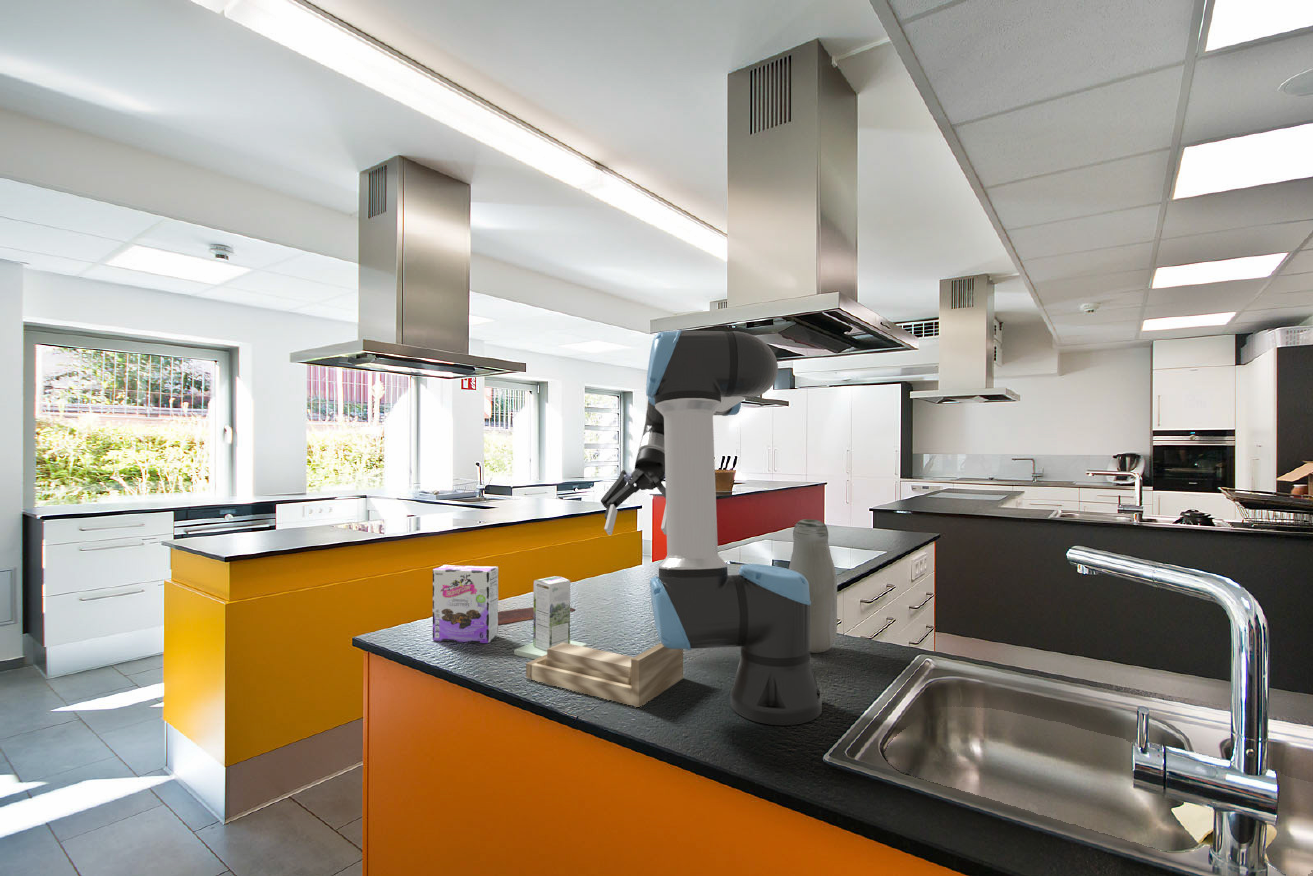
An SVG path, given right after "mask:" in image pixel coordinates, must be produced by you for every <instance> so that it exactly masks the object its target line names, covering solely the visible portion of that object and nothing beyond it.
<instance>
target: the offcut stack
mask: <svg viewBox="0 0 1313 876" xmlns="http://www.w3.org/2000/svg"><path fill="white" fill-rule="evenodd" d="M634 657H635V656H634ZM634 657H633V656H630V655H625V654H620V653H615V652H610V651H606V650H600V649H596V648H591V647H588V648H587V647H582V646H578V645H573V644H568V643H563V642H562V643H560V644H558V645H555V646H553V647H551V648H548V649H547V659H546V666H550V667H554V668H558V669H562V670H567V671H571V672H575V673H579V674H584V675H588V676H592V677H596V678H600V679H605V680H609V681H613V682H617V683H622V684H626V685H630V686H631V659H632V658H634Z"/></svg>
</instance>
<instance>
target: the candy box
mask: <svg viewBox="0 0 1313 876" xmlns="http://www.w3.org/2000/svg"><path fill="white" fill-rule="evenodd" d="M498 612H499V566H495V565H494V566H491V565H490V566H488V565H486V566H483V565H482V566H481V565H480V566H479V565H476V566H475V565H453V564H452V565H450V564H443V565H440V566H438V567H436V568H433V569H432V641H436V642H454V643H455V642H456V643H458V642H459V643H475V644H476V643H478V644H489V643H491V642H492V641H493V640H496V638H498V637H499V625H498Z"/></svg>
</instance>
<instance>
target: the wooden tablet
mask: <svg viewBox="0 0 1313 876" xmlns="http://www.w3.org/2000/svg"><path fill="white" fill-rule="evenodd" d="M574 611H576V609H575V608H574V607H573V608H572V607H570V613H571V612H574ZM533 618H534V606H532V607H527V608H526V607H525V608H523V607H522V608H515V609H507V610H501V611H498V626H500V625H506V624H513V623H518V622H524V621H530V620H534V619H533Z"/></svg>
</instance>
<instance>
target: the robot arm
mask: <svg viewBox="0 0 1313 876" xmlns="http://www.w3.org/2000/svg"><path fill="white" fill-rule="evenodd" d="M778 364H779V363H778V361H777V357H776V355H775V354H774V351H773V350H772V349H771V348H770V346H769V345H768V344H767V343H766V342H765V341H763V340H762V339H760V337H757V336H755V335H753V334H750V333H748V332H742V331H735V330H732V331H717V330H715V331H712V330H682V329H678V330H670V331H669V330H668V331H663V330H662V331H660V332H658V333H657V334H656V335H655V336H654V337H653V339H652V343H651V349H650V353H649V360H648V367H647V373H646V374H647V375H646V389H645V390H646V391H645V393H646V396H647V406H646V414H645V422H644V427H643V431H642V435H641V440H640V443H639V447H638V452H637V456H636V459H635V465H634V470H633V471H632V472H627V471H626V470H625V469H622V470H621V471H620V473H619V476H618V478H617V479H616V480H615V482H613V484H612V485H611V487H610V488H609V489H608V490H607V491H606V493H605V494H604V496H603V497H602V498H601V499H600V502H601V505H602V506H603V507H604V508H605V509H606V510H605V512H604V518H605V520H606V522H605V525H604V527H603V529H604V530H605V533H607V535H608V536H612V534H613V531H614V526H615V524H616V519H617V514H618V509H617V508H618V507H619V506H621V504H622V503H623V502H625V501H626V500H627V499H628V498H630V497H631V496H632V495H633V494H634V493H635V494H636V493H637V492H638V491H639V490H641V491H645V490H646V491H647V490H650V491H652V490H654V489H656V488H657V490H658V491H659V492H660V493H661V495H662V496H663V497H664V498H665V506H664V511H663V517H662V520H661V526H660V530H661V531H662V532H663V534H664V535H665V536H666V552H667V553H666V554H667V555H666V557H665V558H664V559H663V561H662V562H661V563H660V564H658V576H657V575H655V576H654V577H651V578H650V580H649V586H650V600H651V608H652V613H653V620H654V623H655V629H656V633H657V637H658V640H659V643H661V644H662V645H663V646H665V647H666V648H669V649H683V650H687V651H692V650H693V649H711V648H712V649H714V648H715V649H716V648H736V647H740V658H739V662H738V666H737V669H736V672H735V676H734V680H733V683H732V686H731V687H730V693H729V694H730V706H731V708H732V710H733V711H734V712H735V713H737V714H738V715H739V716H741V717H743V718H744V719H747V720H750V721H752V722H755V723H761V724H766V725H773V726H797V725H801V724H805V723H809V722H811V721H813V720H815V719H817V718H818V717H820V715H821V714H822V711H823V708H822V705H823V703H822V701H823V700H822V693H821V690H820V689H819V685H818V681H817V678H816V675H815V672H814V669H813V666H812V663H811V652H810V605H811V601H810V594H809V583H808V581H807V579H806V578H805V577H804V576H803V575H802V574H800V573H798V572H796V571H793V570H789V568H786V567H780V566H775V565H770V564H769V565H768V564H759V563H749V564H746V563H745V564H741V566H740V567H739V570H738V574H729V572H728V564H727V562H725V561H724V560H723V559H722V558H721V556H720V555H719V547H718V543H719V542H718V522H717V521H718V517H717V494H716V493H717V492H716V490H717V489H716V468H715V464H716V463H715V462H716V461H715V439H714V438H715V437H714V433H715V432H714V416H722V417H726V416H735V415H738V414H739V412H740V411H741V410H740V409H741V406H742V401H745V400H746V399H755V398H757V397H760V396H761V395H763V394H765V393H767V392H768V390H770V389H771V388H772V387H773V385H774V384H775V382H776V380H777V377H778V373H779V365H778ZM664 480H665V485H664V484H663V483H662V482H663V481H664Z"/></svg>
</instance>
